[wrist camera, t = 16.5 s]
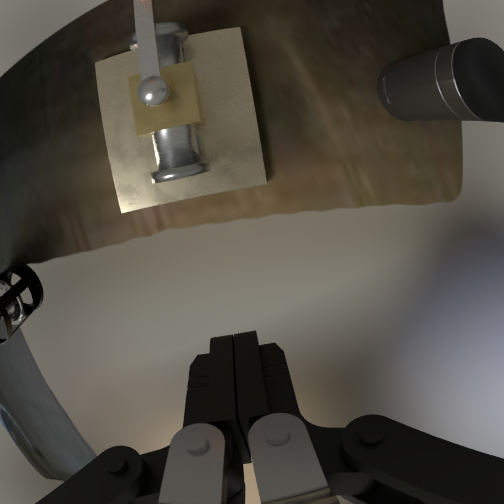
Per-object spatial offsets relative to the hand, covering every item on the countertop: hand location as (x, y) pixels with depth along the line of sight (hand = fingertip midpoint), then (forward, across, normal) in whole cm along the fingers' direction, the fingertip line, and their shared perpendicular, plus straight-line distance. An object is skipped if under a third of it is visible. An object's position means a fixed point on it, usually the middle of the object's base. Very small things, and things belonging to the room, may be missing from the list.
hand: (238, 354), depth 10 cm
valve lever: (+21, +5, -20) cm, 30 cm away
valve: (+33, +5, -12) cm, 35 cm away
